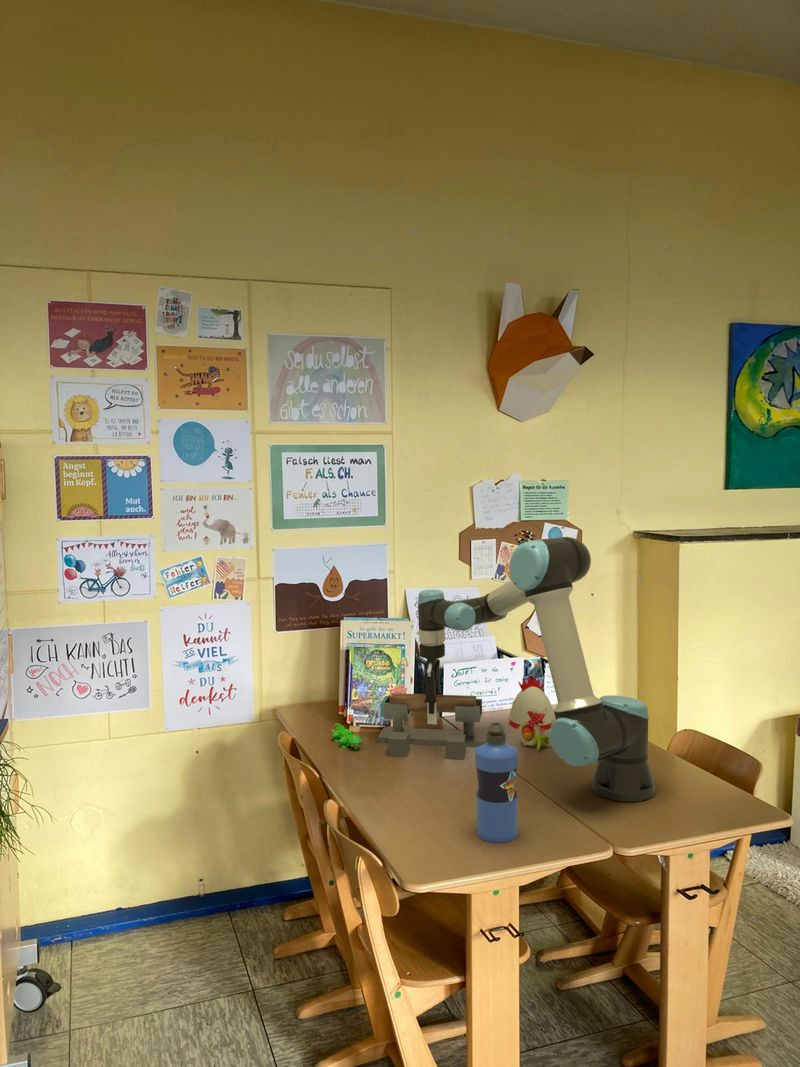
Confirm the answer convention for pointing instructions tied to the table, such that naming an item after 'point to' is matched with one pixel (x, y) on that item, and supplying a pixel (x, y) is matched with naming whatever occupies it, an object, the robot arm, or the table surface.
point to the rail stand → (432, 736)
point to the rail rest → (401, 745)
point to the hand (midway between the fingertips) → (433, 720)
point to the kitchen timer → (531, 705)
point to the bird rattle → (529, 732)
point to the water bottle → (496, 787)
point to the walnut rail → (443, 701)
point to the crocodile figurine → (345, 737)
